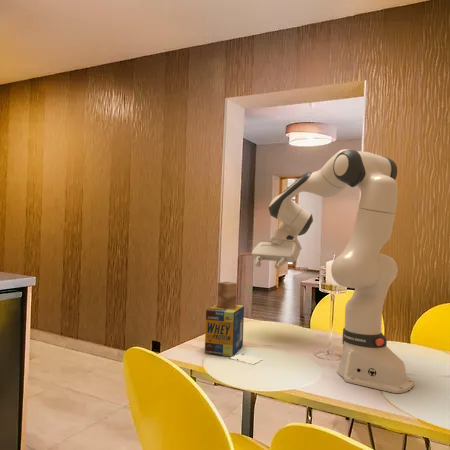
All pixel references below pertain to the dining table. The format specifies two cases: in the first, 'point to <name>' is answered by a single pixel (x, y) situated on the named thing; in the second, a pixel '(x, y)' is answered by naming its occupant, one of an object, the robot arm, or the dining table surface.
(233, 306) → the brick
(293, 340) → the dining table surface
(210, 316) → the protein box
